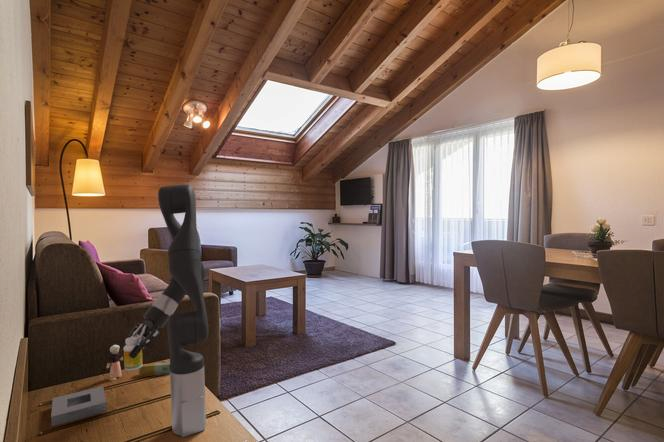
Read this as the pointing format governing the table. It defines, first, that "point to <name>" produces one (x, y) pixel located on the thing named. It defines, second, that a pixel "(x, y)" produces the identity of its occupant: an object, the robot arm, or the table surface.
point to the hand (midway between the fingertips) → (127, 355)
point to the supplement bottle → (128, 361)
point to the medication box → (154, 369)
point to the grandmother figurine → (114, 363)
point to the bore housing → (78, 406)
